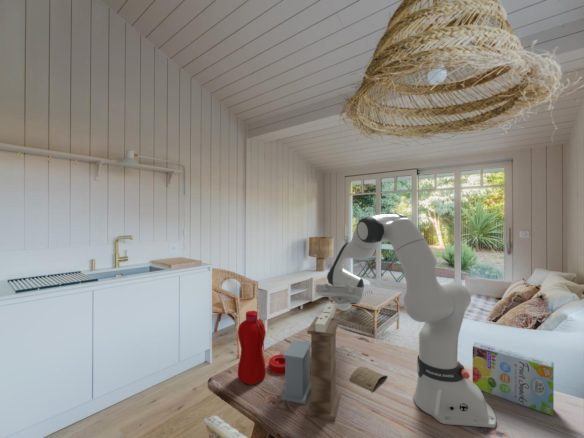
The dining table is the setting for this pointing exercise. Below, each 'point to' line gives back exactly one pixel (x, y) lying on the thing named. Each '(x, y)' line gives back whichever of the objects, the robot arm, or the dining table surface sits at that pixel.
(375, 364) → the dining table surface
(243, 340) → the water bottle
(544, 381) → the snack box
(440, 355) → the robot arm
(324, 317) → the domino bar
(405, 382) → the dining table surface
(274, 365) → the decorative ornament
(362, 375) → the clay tablet
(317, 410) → the walnut pedestal
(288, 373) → the slate stand
